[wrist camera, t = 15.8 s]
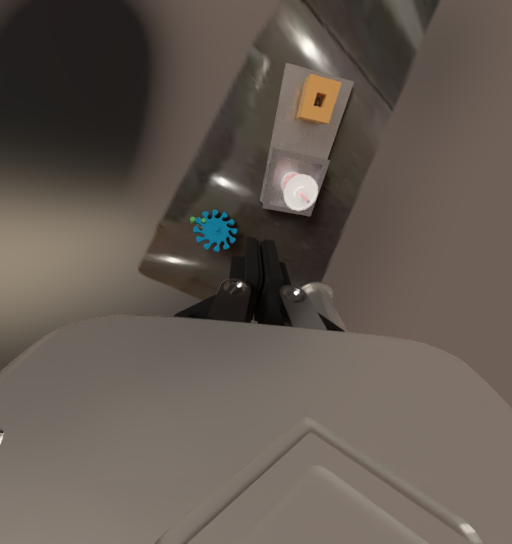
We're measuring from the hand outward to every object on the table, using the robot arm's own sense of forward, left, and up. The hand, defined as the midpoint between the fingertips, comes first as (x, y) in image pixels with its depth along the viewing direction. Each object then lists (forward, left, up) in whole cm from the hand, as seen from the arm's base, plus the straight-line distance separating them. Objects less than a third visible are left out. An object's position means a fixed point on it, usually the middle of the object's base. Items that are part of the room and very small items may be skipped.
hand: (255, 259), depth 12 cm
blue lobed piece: (-12, +7, -35) cm, 38 cm away
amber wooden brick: (+13, -9, -32) cm, 36 cm away
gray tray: (+6, -9, -35) cm, 37 cm away
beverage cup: (0, -9, -34) cm, 35 cm away
